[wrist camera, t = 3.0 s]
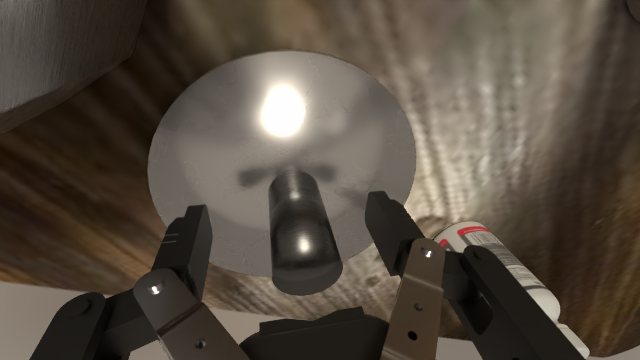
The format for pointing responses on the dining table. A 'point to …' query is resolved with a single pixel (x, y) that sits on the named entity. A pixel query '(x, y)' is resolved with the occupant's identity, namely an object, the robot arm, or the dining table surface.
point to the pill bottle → (479, 235)
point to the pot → (59, 50)
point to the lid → (282, 162)
